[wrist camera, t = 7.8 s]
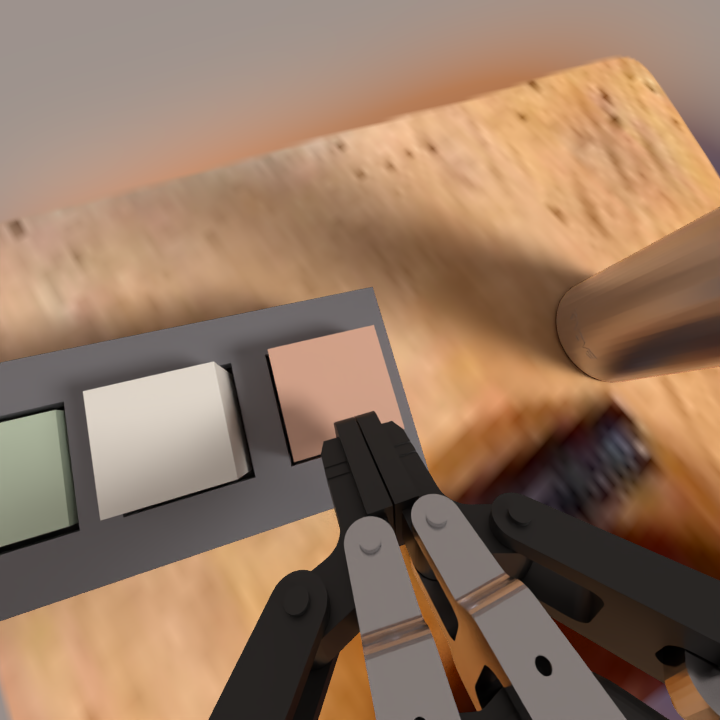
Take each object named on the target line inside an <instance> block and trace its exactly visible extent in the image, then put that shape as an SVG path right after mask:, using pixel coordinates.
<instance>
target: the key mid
mask: <svg viewBox="0 0 720 720" xmlns="http://www.w3.org/2000/svg"><path fill="white" fill-rule="evenodd" d="M83 396H84V404H85V411H86V419H87V426H88V433H89V441H90V448H91V455H92V463H93V470H94V478H95V485H96V492H97V500H98V507H99V515H100V521H101V520H104V519H108V518H111V517H114V516H118V515H121V514H124V513H127V512H131V511H134V510H137V509H141V508H144V507H147V506H151V505H154V504H157V503H161V502H164V501H167V500H171V499H174V498H177V497H180V496H184V495H187V494H190V493H194V492H197V491H200V490H204V489H207V488H210V487H214V486H217V485H220V484H224V483H227V482H230V481H233V480H237V479H239V478H240V477H242V476H243V475H245V474H246V473H248V472H249V471H251V470H252V469H253V466H252V462H251V457H250V452H249V448H248V443H247V439H246V434H245V429H244V425H243V420H242V415H241V411H240V406H239V401H238V397H237V392H236V388H235V383H234V378H233V375H232V374H230V373H229V372H227V371H226V370H225V369H223V368H222V367H221V366H219V365H218V364H216V363H215V362H214V361H213V362H209V363H205V364H200V365H196V366H192V367H187V368H183V369H178V370H174V371H170V372H165V373H161V374H157V375H152V376H148V377H143V378H139V379H135V380H130V381H126V382H121V383H117V384H113V385H108V386H104V387H100V388H95V389H91V390H86V391H83Z"/></svg>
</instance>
